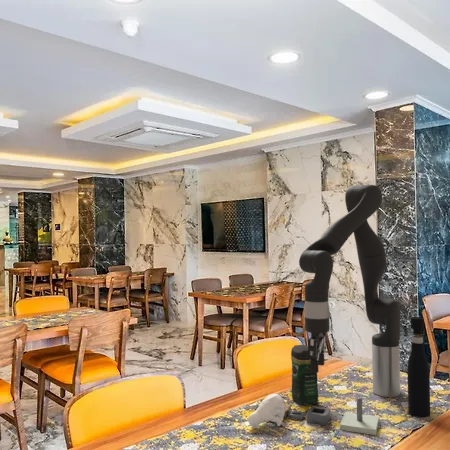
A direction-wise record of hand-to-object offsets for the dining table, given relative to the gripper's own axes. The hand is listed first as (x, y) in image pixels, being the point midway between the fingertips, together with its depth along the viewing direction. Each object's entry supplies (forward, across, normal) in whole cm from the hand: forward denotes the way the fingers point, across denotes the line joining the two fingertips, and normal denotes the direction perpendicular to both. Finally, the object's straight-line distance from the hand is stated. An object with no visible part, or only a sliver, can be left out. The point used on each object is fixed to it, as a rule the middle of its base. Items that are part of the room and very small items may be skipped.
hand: (317, 368), depth 142 cm
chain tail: (+16, 0, +9) cm, 18 cm away
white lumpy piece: (+16, -9, +14) cm, 23 cm away
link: (+16, 0, 0) cm, 16 cm away
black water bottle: (+16, +17, -28) cm, 36 cm away
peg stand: (+16, +1, -12) cm, 20 cm away
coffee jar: (+16, +15, +8) cm, 23 cm away
